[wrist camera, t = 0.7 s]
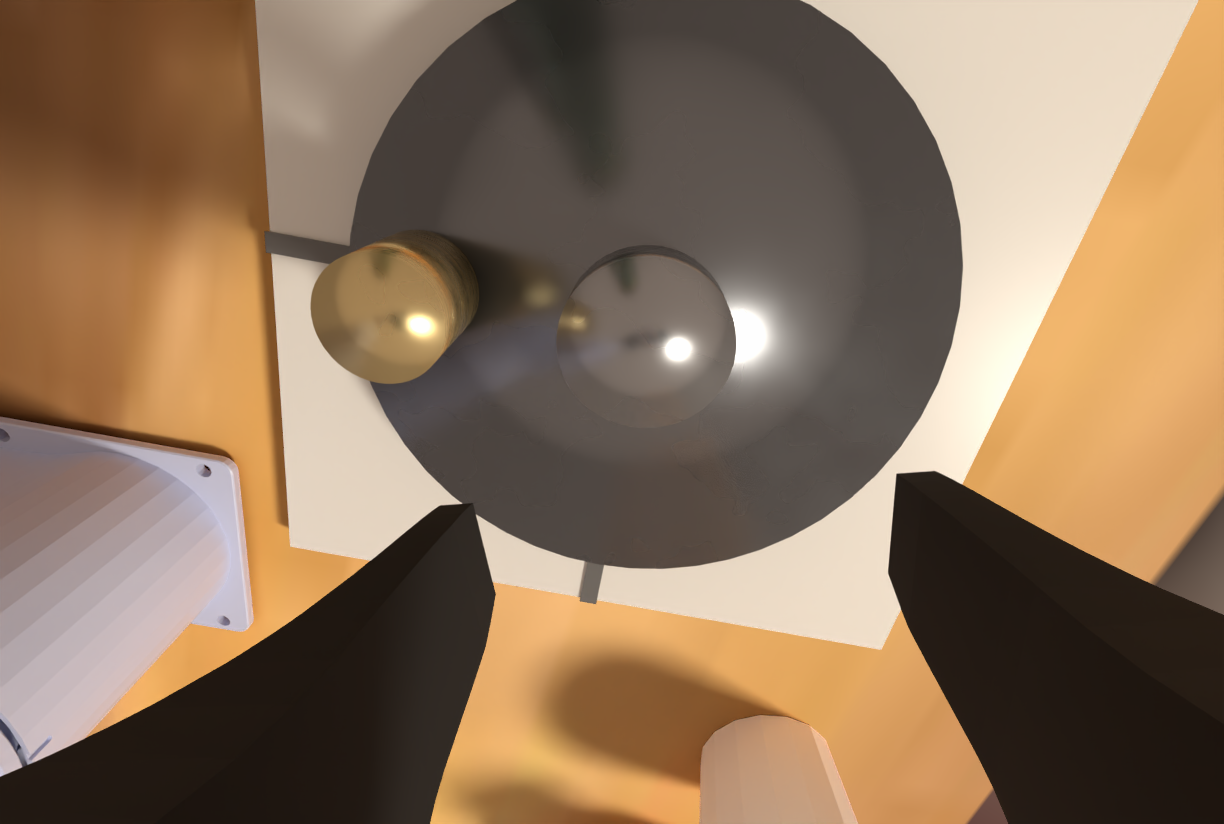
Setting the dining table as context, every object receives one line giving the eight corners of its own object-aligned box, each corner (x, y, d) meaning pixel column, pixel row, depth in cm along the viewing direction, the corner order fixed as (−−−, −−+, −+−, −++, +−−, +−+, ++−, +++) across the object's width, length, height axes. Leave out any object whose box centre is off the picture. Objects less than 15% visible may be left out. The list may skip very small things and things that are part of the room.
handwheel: (366, 500, 21) (303, 584, 17) (367, -85, 14) (261, -162, 10) (831, 582, 21) (870, 682, 17) (1052, 49, 14) (1196, 23, 11)
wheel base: (299, 534, 23) (281, 555, 22) (254, -260, 14) (220, -293, 13) (873, 635, 24) (883, 660, 23) (1207, -69, 14) (1252, -84, 13)
